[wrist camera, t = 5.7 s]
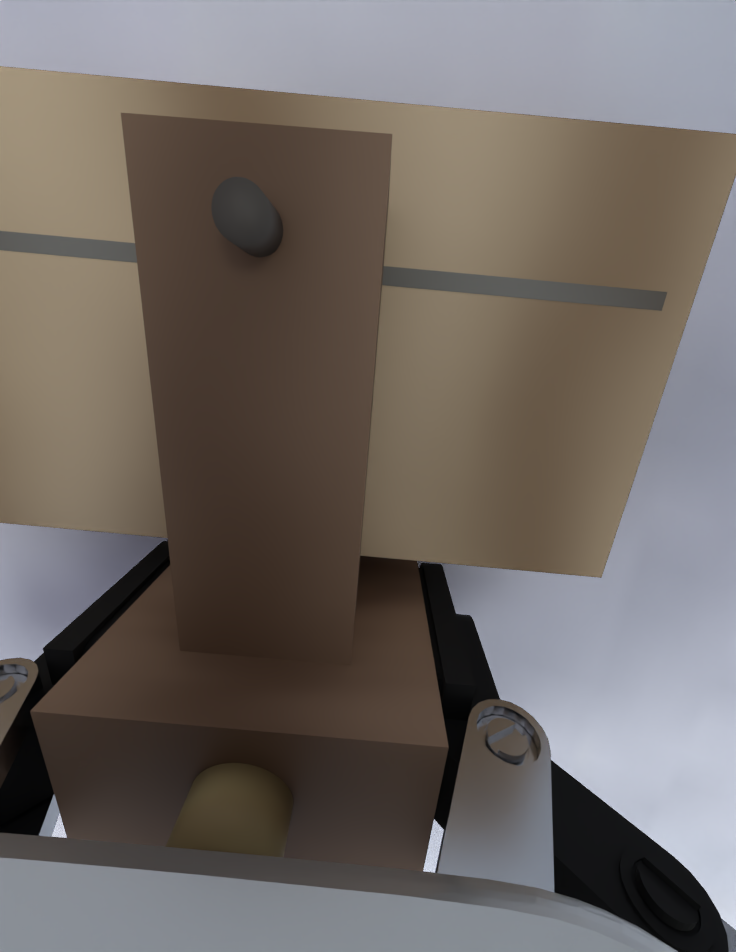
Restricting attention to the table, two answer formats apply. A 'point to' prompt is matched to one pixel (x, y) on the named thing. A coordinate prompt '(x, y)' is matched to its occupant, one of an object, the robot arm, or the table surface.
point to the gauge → (258, 525)
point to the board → (400, 323)
